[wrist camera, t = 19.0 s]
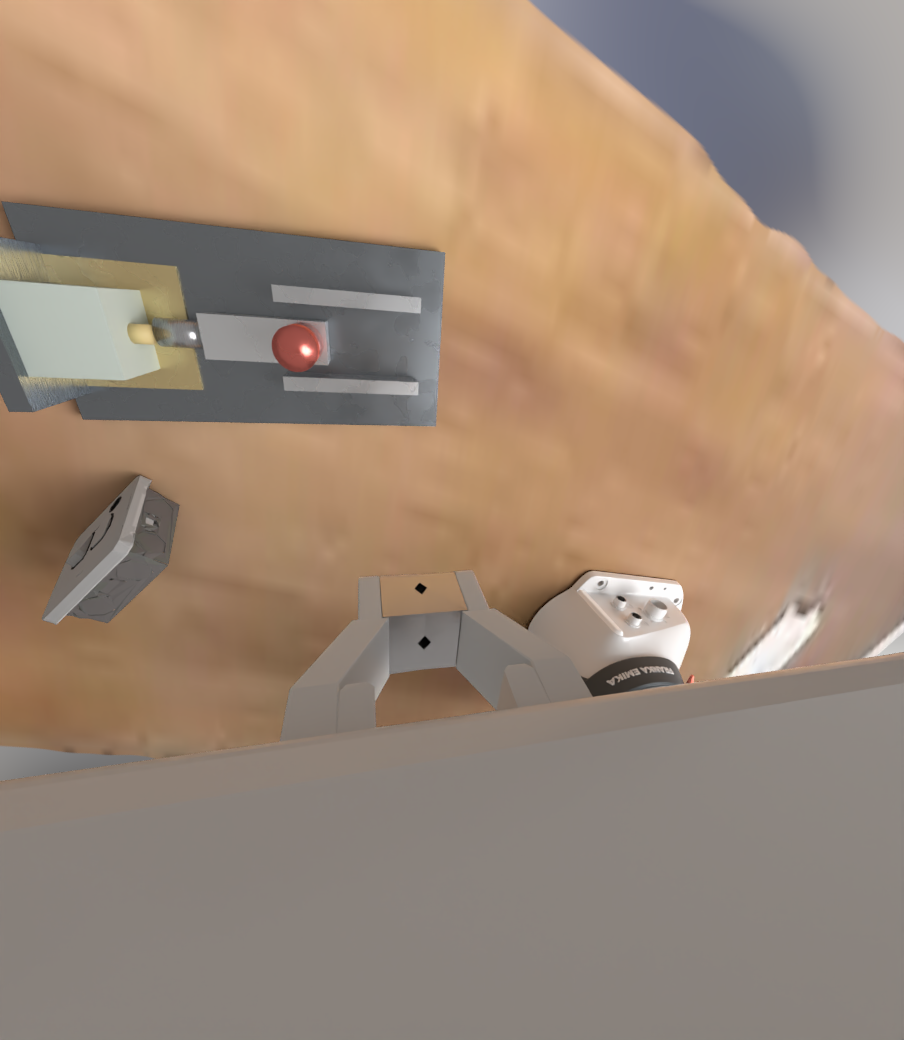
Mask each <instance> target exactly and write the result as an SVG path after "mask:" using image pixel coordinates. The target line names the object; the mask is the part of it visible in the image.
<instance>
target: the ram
mask: <svg viewBox="0 0 904 1040" xmlns="http://www.w3.org/2000/svg"><path fill="white" fill-rule="evenodd" d="M196 316H197V320H187V319H172V318H158V317H155V318H153V320H152V331H153V335H154V338H155V340H156V342H157V343H158V344H159V345H160V346H161V347H177V348H195V349H204V354H205V359H210V360H230V361H250V362H270V363H279V364H280V365H282V366H283V367H284V368H286V369H288V370H290V371H293V372H304V371H306V370H308V369H310V368H311V367H312V366H313V365H329V363H330V361H331V358H330V343H329V329H328V321H326V320H312V319H298V318H284V317H271V316H257V315H243V314H230V313H216V312H203V313H196Z"/></svg>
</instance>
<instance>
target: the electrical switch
mask: <svg viewBox="0 0 904 1040" xmlns="http://www.w3.org/2000/svg"><path fill="white" fill-rule="evenodd" d="M151 482H152V480H150V479H148V478H146V477H144V476H141V475H140V476H137V477H136V478H135V479H134V480H133V481H132V482H131V483H130V484H129V485H128V486H127V487H126V488H125V489H124V491H123V492H122V493H121V494H120V495H119V496H118V497H117V498H116V499H115V500H114V501H113V502H112V503H111V504H110V505H109V506H108V507H107V508H106V509H105V510H104V511H103V512H102V513H101V514H100V515H99V516H98V518H97V519H96V520H95V521H94V522H93V523H92V524H91V525H90V526H89V527H88V528H87V529H86V530H85V531H84V532H83V533H82V534H81V535H80V536H79V538H78V539H77V541H76V542H75V544H74V546H73V548H72V550H71V552H70V554H69V556H68V558H67V561H66V563H65V565H64V567H63V569H62V572H61V574H60V576H59V578H58V581H57V583H56V585H55V587H54V589H53V592H52V594H51V597H50V599H49V602H48V604H47V607H46V609H45V612H44V614H43V616H42V620H43V621H47V622H50V623H54V624H55V625H57V624H58V623H59V622H60V621H61V620H62V619H63V618H64V617H65V616H74V617H78V618H88V619H93V620H97V621H101V622H105V623H108V622H109V621H110V620H111V619H113V618H114V617H115V616H116V615H117V614H118V613H119V612H120V611H121V610H122V609H123V608H124V607H125V606H126V605H127V604H128V603H129V602H130V601H131V600H132V599H133V598H135V597H136V596H137V595H138V594H139V593H140V592H141V591H142V590H143V589H144V588H145V587H146V586H147V585H148V584H149V583H150V582H151V581H152V580H153V579H154V578H156V577H157V576H158V575H159V574H160V573H161V572H162V571H163V570H164V569H165V568H166V567H167V566H168V565H167V564H169V558H170V553H171V548H172V542H173V537H174V532H175V526H176V521H177V516H178V510H179V505H178V504H176V503H174V502H172V501H170V500H168V499H166V498H164V497H163V496H162V495H160V494H158V493H156V492H154V491H152V490H151V489H149V486H150V484H151ZM157 517H158V518H157ZM163 552H164V553H163ZM152 559H153V560H152ZM155 560H156V561H155ZM158 561H159V562H158ZM161 562H163V563H161ZM164 563H166V564H164ZM152 571H153V572H152ZM125 581H126V582H125Z"/></svg>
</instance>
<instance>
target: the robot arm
mask: <svg viewBox="0 0 904 1040" xmlns="http://www.w3.org/2000/svg"><path fill="white" fill-rule="evenodd" d="M682 603H683V590H682V587H681V585H680V584H679V583H678V582H677V581H674V580H667V579H658V578H650V577H641V576H633V575H625V574H616V573H608V572H599V571H590V572H588V573H586V574H584V575H583V576H582V577H581V578H580V579H579V580H578V581H577V582H576V583H575V584H574V585H573V586H572V587H571V588H570V589H568V590H567V591H565V592H563V593H561V594H560V595H558V596H556V597H555V598H553V599H552V600H550V601H549V602H548V603H547V604H546V605H544V606H543V607H542V608H541V609H540V610H539V612H538V613H537V614H536V615H535V617H534V618H533V620H532V621H531V623H530V625H529V628H528V630H527V629H525V628H524V627H522V626H521V625H519V624H518V623H516V622H515V621H513V620H512V619H510V618H509V617H507V616H506V615H504V614H502V613H501V612H499V611H498V610H496V609H495V608H493V609H489V607H488V604H487V602H486V600H485V597H484V595H483V593H482V590H481V588H480V586H479V583H478V581H477V579H476V576H475V574H474V572H473V571H472V570H463V571H453V572H447V573H432V574H409V575H384V576H366V577H359V580H358V620H352V621H351V622H350V623H349V624H348V626H347V627H346V628H345V629H344V630H343V631H342V632H341V633H340V634H339V635H338V637H337V638H336V639H335V640H334V641H333V642H332V643H331V644H330V645H329V646H328V648H327V649H326V650H325V651H324V652H323V653H322V654H321V655H320V656H319V657H318V659H317V660H316V661H315V662H314V663H313V664H312V665H311V666H310V667H309V669H308V670H307V671H306V672H305V673H304V674H303V675H302V676H301V677H300V678H299V680H298V681H297V682H296V683H295V684H294V685H293V686H292V687H291V688H290V691H289V696H288V701H287V706H286V711H285V717H284V722H283V727H282V732H281V738H280V742H273V743H266V744H259V745H252V746H245V747H237V748H230V749H223V750H216V751H209V752H202V753H195V754H188V755H181V756H174V757H167V758H160V759H153V760H146V761H139V762H132V763H125V764H118V765H111V766H104V767H97V768H90V769H82V770H75V771H68V772H61V773H54V774H47V775H40V776H33V777H26V778H19V779H12V780H5V781H0V1040H904V652H901V653H895V654H889V655H883V656H876V657H869V658H862V659H855V660H848V661H841V662H834V663H827V664H820V665H813V666H806V667H799V668H792V669H785V670H778V671H771V672H764V673H757V674H750V675H743V676H736V677H729V678H722V679H715V680H708V681H701V682H699V681H697V682H694V676H693V675H691V676H690V677H689V679H688V681H687V683H686V684H684V683H683V680H682V677H681V675H680V672H679V669H680V666H681V664H682V661H683V658H684V656H685V653H686V650H687V647H688V644H689V640H690V626H689V623H688V621H687V619H686V618H685V616H684V615H683V613H682V612H681V607H682ZM445 667H456V669H457V670H458V671H459V672H460V673H461V674H462V675H463V676H464V677H465V678H466V679H467V680H468V681H469V682H470V683H471V684H472V685H473V686H474V687H475V688H476V689H477V690H478V691H479V693H480V694H481V695H482V696H483V697H484V698H485V699H486V700H487V701H488V702H489V703H490V704H491V705H492V706H493V707H494V708H495V709H496V711H490V712H483V713H476V714H469V715H462V716H455V717H448V718H441V719H434V720H426V721H419V722H412V723H405V724H398V725H391V726H384V727H377V728H376V713H375V701H376V699H377V698H378V696H379V694H380V692H381V690H382V689H383V687H384V685H385V683H386V681H387V679H388V678H389V674H394V673H401V672H408V671H415V670H422V669H433V668H445ZM693 682H694V683H693Z"/></svg>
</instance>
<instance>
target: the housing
mask: <svg viewBox="0 0 904 1040" xmlns="http://www.w3.org/2000/svg"><path fill="white" fill-rule="evenodd" d="M0 309H1V311H2V314H3V316H4V318H5V321H6V323H7V326H8V328H9V330H10V333H11V335H12V338H13V340H14V342H15V345H16V347H17V349H18V352H19V354H20V357H21V359H22V361H23V364H24V366H25V369H26V371H27V373H28V376H29V377H48V378H75V379H101V380H128V379H131V378H134V377H137V376H140V375H143V374H146V373H149V372H153V371H156V370H159V369H160V365H159V361H158V358H157V354H156V350H155V346H154V345H155V344H156V340H155V338H154V335H153V331H152V326H151V325H149V323H148V320H147V316H146V312H145V308H144V305H143V301H142V297H141V293H140V290H130V289H117V288H105V287H93V286H80V285H68V284H56V283H41V282H26V281H10V280H0Z"/></svg>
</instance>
